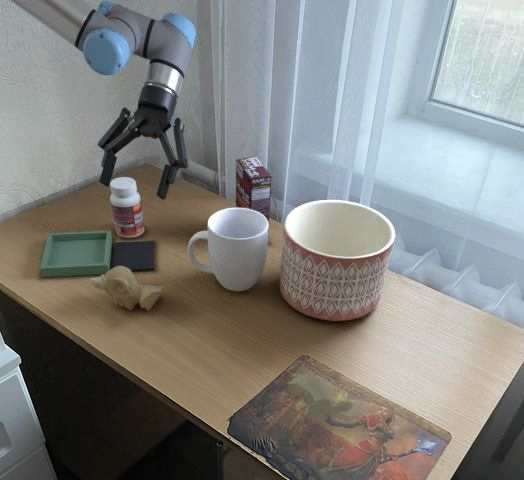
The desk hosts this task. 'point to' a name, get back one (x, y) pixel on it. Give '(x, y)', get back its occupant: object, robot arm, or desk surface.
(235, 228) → the mug
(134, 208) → the pill bottle
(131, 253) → the scrub mat
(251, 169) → the supplement box
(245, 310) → the desk surface
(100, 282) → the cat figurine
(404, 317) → the desk surface
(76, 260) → the tray
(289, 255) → the planter
